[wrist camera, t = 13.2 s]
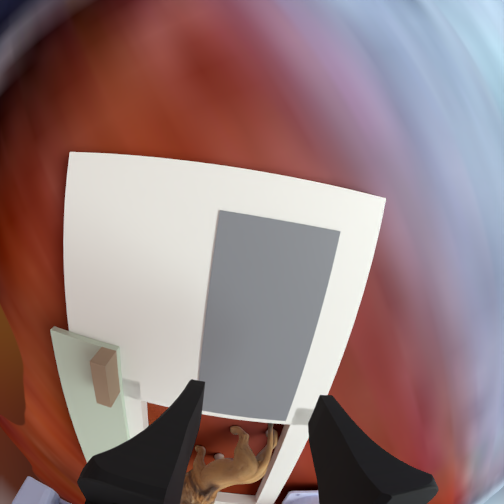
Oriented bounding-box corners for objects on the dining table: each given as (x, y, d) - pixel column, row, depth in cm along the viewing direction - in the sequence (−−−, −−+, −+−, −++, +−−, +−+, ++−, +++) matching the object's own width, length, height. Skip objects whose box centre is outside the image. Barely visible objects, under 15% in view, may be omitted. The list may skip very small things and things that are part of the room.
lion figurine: (211, 472, 25) (204, 527, 18) (177, 456, 24) (163, 511, 17) (291, 421, 22) (300, 488, 15) (253, 400, 22) (252, 471, 15)
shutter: (119, 346, 19) (105, 366, 16) (138, 481, 24) (133, 498, 21) (54, 326, 19) (36, 341, 16) (91, 465, 24) (84, 480, 21)
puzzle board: (376, 196, 18) (386, 198, 16) (268, 502, 27) (268, 512, 25) (81, 152, 17) (69, 151, 16) (110, 472, 26) (106, 481, 24)
